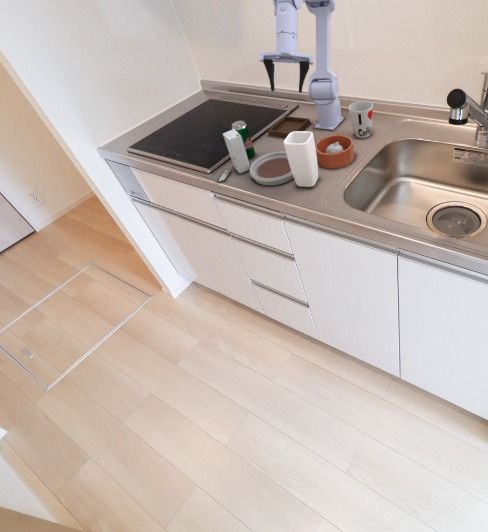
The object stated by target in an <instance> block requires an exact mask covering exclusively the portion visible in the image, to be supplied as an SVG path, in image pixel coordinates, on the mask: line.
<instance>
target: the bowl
mask: <svg viewBox="0 0 488 532" xmlns="http://www.w3.org/2000/svg"><path fill="white" fill-rule="evenodd" d="M336 142H339V145H341V146H342V148H343V151H342V152H338V153H332V154H327V153H326V148H327V147H328V146H329V145H331V144H334V143H336ZM315 148H316V155H317V164H318V166H320V167H322V168H323V169H324V168H325V169H331V170H332V169H333V170H334V169H335V170H336V169H340V168H344V167H346V166H348V165H350V164H351V163H352V162H353V161H354V159H355V146H354V140H353V139H352V137H349V136H347V135H345V134H344V135H343V134H342V135H341V134H333V135H329V136H325V137H323V138H321V139H319V140H318V141H317V142H315Z"/></svg>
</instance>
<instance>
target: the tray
mask: <svg viewBox="0 0 488 532" xmlns="http://www.w3.org/2000/svg"><path fill="white" fill-rule="evenodd" d="M310 125H311V119H310V118H307V117H298V116H289V115H285V116H283V117H282V118H281V119H280V120H278V121H277V122H276V123H275V124H274V125H273V126H271V127H270V128H269V129H268V130H267V134H268V136H269V137H276V138H283V139H284V138H285V139H286V137H287V136H288V135H289V134H290V133H291V132H294V131H305V130H306V128H308V127H309V126H310Z"/></svg>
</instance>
